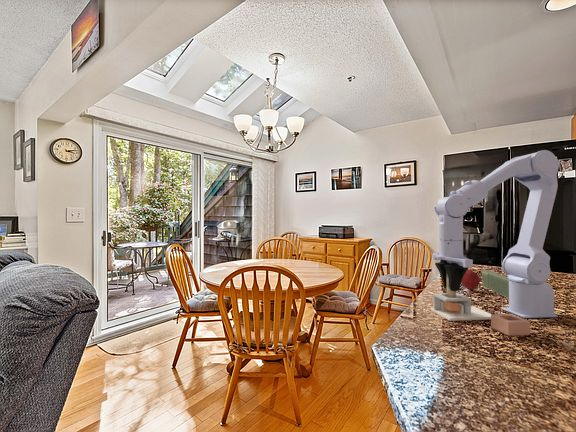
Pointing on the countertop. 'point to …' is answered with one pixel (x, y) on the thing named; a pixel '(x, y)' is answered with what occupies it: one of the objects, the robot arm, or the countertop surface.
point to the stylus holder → (510, 324)
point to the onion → (470, 280)
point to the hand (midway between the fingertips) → (451, 289)
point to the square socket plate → (465, 308)
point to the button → (452, 306)
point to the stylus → (450, 293)
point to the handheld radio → (496, 282)
